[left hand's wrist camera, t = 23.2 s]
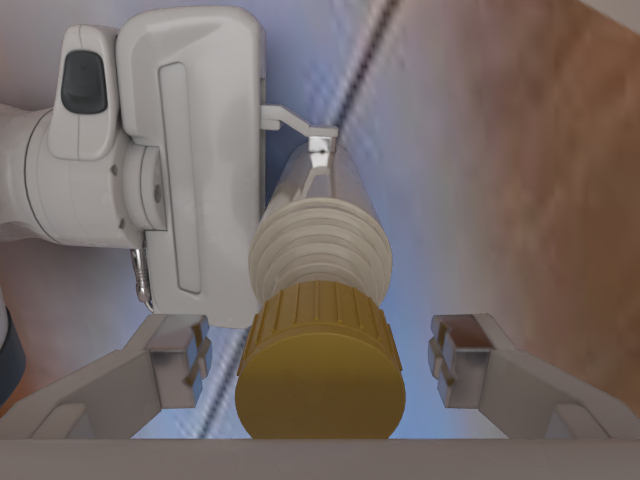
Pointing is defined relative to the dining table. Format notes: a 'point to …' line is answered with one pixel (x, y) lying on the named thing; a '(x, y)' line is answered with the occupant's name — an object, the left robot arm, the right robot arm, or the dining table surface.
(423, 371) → the dining table surface
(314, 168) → the bottle
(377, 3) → the dining table surface
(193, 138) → the right robot arm
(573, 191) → the dining table surface
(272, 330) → the cap
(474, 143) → the dining table surface
